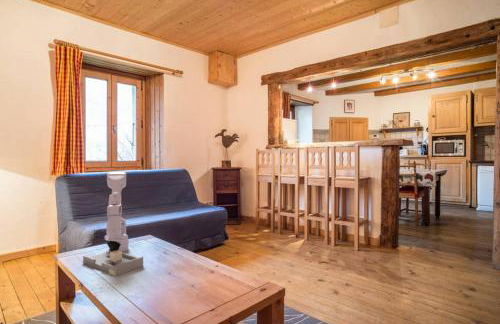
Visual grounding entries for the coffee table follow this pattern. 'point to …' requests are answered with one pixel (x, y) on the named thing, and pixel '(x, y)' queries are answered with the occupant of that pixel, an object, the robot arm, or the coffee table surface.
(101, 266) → the board
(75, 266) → the coffee table surface
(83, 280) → the coffee table surface
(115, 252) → the block
